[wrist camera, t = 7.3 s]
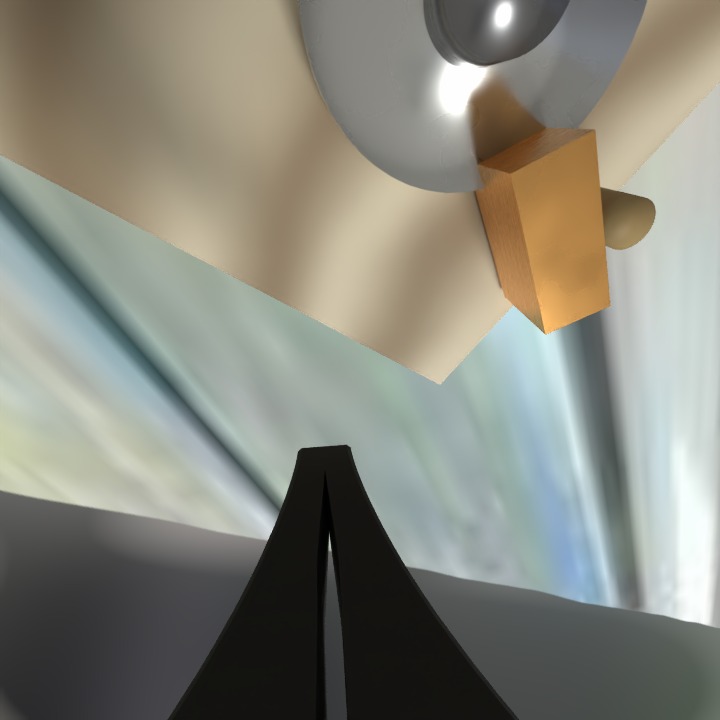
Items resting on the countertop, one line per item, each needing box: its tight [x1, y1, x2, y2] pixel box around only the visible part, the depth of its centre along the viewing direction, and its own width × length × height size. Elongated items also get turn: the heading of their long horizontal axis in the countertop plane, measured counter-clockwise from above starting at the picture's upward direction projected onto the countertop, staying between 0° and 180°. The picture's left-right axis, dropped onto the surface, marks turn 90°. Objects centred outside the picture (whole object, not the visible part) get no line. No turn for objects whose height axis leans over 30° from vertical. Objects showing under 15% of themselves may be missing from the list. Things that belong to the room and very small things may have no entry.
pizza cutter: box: [298, 0, 647, 335], centre depth 11 cm, size 15×10×4 cm, turn 26°
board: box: [0, 0, 720, 385], centre depth 11 cm, size 20×17×5 cm
